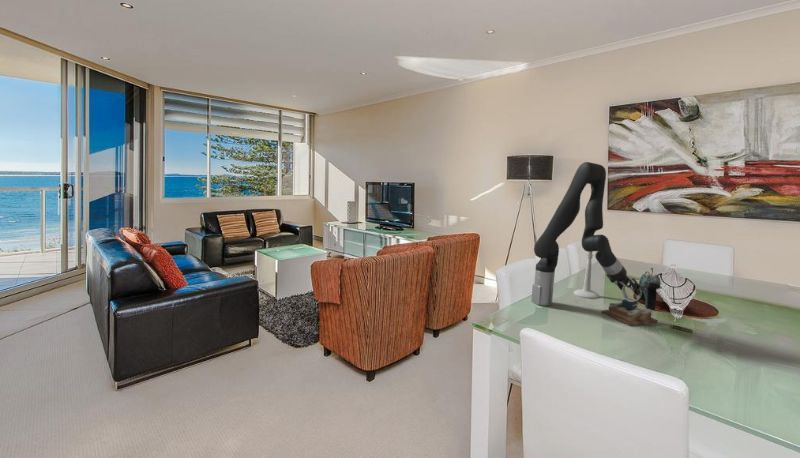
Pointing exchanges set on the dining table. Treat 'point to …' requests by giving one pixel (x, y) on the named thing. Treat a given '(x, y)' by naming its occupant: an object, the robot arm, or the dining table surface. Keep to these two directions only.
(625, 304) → the watch
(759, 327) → the dining table surface
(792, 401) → the dining table surface
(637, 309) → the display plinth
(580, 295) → the candlestick
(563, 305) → the dining table surface
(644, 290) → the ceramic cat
